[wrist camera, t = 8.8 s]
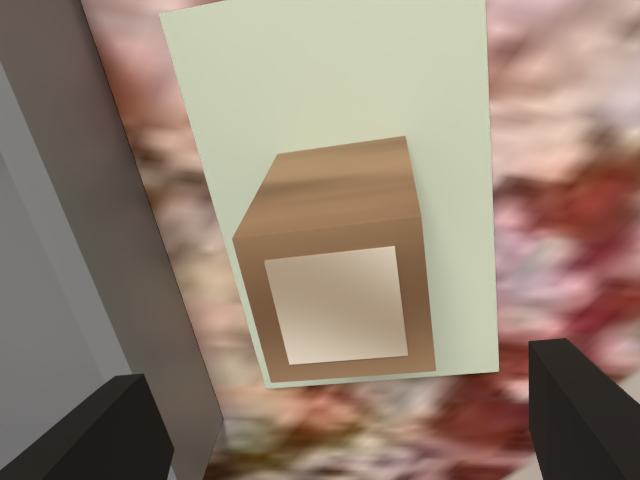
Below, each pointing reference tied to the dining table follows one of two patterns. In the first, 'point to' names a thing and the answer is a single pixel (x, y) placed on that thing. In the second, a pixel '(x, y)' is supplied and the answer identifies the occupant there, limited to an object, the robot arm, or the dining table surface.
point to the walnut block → (338, 264)
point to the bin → (82, 248)
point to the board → (355, 130)
